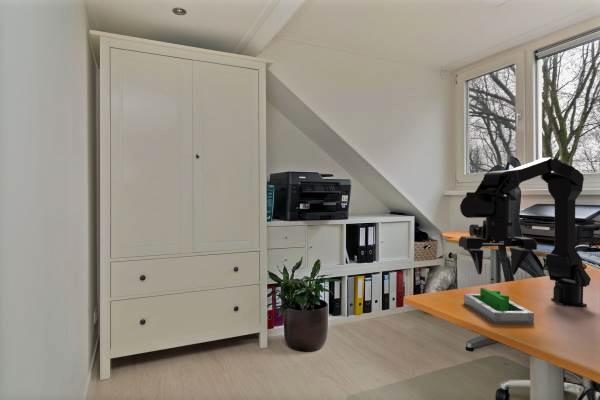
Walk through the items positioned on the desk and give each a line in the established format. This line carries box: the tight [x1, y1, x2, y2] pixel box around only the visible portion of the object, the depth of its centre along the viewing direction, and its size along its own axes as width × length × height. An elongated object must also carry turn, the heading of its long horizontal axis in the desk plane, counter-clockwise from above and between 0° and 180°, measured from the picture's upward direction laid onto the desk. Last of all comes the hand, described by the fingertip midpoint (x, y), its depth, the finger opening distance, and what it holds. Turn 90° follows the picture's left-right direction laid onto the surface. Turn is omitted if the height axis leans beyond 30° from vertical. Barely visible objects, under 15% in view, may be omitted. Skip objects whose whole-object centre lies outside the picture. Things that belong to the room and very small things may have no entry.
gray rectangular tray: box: [463, 293, 535, 325], centre depth 101 cm, size 10×17×3 cm, turn 0°
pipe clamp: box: [479, 287, 510, 311], centre depth 101 cm, size 11×4×5 cm, turn 0°
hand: (496, 274), depth 101 cm, fingers open, 9 cm apart
